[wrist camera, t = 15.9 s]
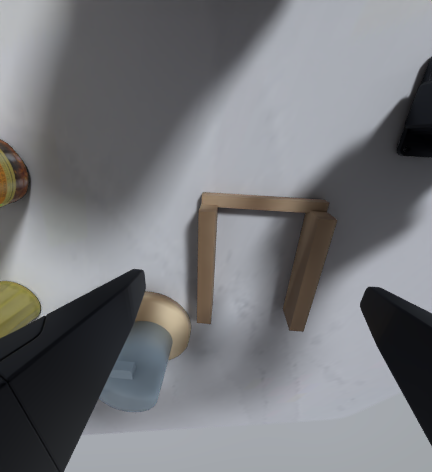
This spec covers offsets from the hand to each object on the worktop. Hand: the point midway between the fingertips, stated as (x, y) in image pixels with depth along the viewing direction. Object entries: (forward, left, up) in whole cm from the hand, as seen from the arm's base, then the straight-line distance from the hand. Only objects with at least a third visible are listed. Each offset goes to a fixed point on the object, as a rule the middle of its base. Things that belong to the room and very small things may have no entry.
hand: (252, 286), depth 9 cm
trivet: (+9, +16, -12) cm, 22 cm away
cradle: (-2, +6, -12) cm, 14 cm away
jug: (+9, +17, -10) cm, 22 cm away
